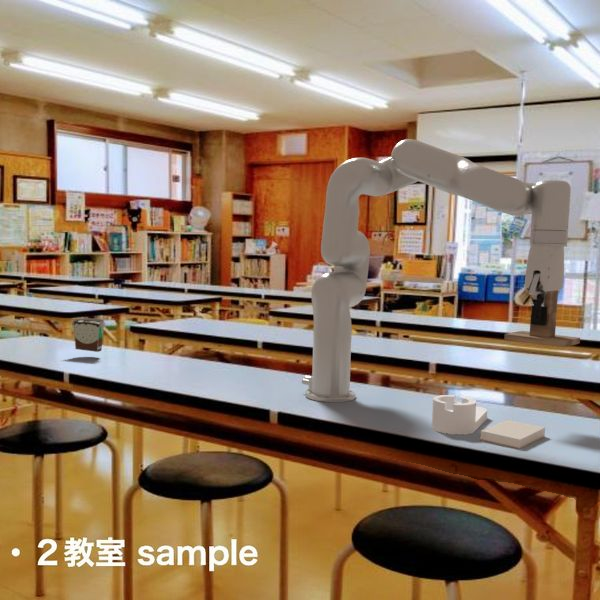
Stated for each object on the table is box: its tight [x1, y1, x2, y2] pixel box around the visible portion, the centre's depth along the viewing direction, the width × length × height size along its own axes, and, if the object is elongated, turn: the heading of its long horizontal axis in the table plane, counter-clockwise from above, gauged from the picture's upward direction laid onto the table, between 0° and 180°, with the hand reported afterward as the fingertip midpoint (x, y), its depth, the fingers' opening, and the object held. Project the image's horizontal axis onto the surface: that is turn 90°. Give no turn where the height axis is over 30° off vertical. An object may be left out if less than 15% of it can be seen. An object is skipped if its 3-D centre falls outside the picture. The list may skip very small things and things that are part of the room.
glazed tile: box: [479, 419, 546, 450], centre depth 134 cm, size 8×2×12 cm
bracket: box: [431, 394, 488, 435], centre depth 146 cm, size 20×9×7 cm, turn 153°
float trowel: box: [504, 289, 581, 348], centre depth 146 cm, size 9×13×11 cm
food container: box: [71, 317, 107, 353], centre depth 226 cm, size 12×6×10 cm, turn 65°
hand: (543, 323), depth 146 cm, fingers closed on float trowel, 4 cm apart
